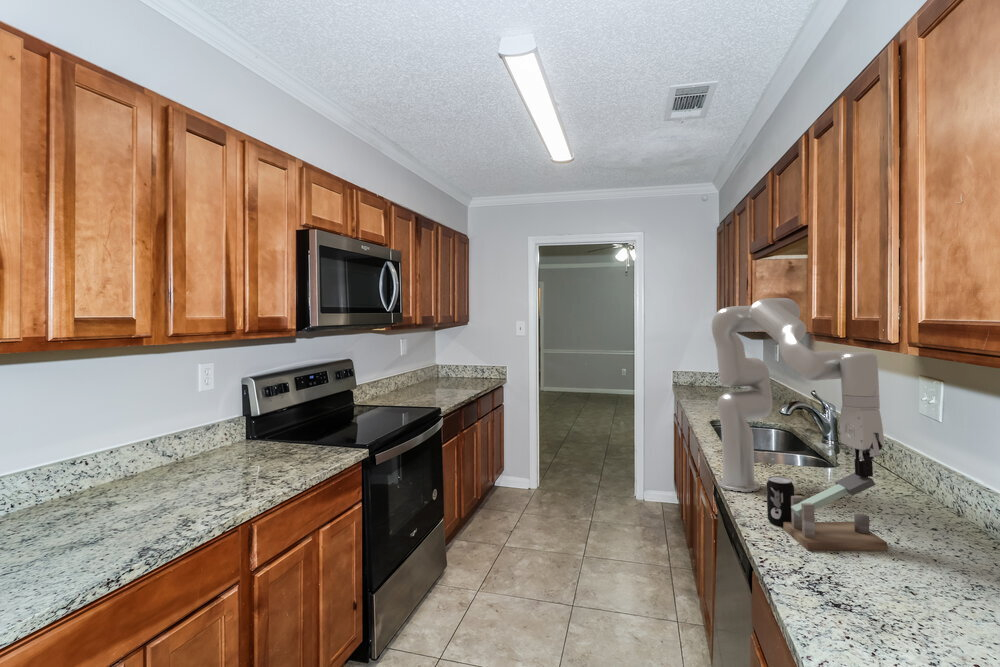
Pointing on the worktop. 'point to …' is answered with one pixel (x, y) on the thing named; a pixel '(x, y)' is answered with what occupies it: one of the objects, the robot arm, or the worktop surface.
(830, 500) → the press lever
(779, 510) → the beverage can
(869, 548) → the press base
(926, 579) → the worktop surface
